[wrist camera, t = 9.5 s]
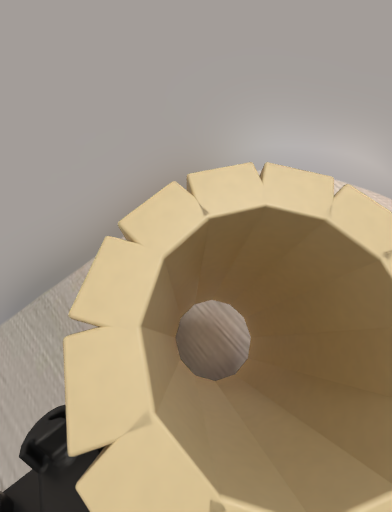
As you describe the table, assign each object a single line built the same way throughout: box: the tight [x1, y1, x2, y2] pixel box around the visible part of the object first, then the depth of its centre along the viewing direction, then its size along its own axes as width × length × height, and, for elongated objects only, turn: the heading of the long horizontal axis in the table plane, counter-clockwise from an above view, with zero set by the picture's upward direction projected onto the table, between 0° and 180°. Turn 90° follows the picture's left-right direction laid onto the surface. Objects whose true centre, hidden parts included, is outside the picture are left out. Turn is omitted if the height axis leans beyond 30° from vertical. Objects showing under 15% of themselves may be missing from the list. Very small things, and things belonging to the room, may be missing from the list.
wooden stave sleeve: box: [63, 162, 392, 512], centre depth 10 cm, size 8×8×12 cm
